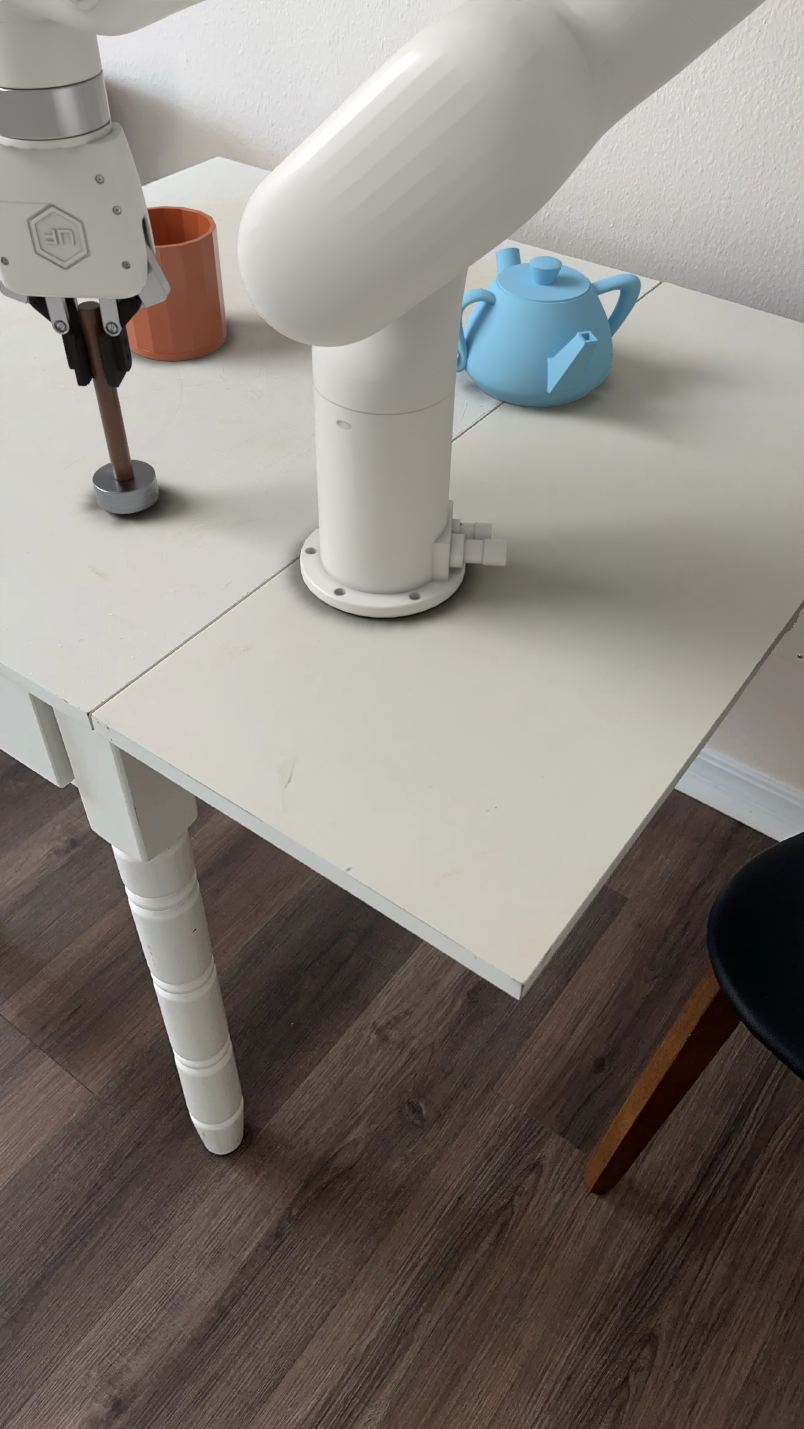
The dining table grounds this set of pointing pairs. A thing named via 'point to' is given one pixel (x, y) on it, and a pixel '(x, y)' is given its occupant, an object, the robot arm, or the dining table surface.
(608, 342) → the teapot
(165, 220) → the holder
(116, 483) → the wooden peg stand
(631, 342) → the dining table surface
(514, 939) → the dining table surface
